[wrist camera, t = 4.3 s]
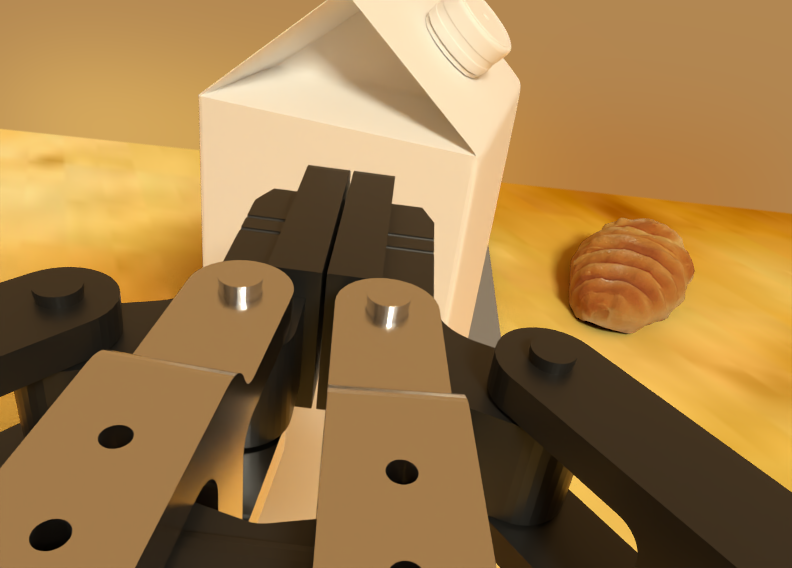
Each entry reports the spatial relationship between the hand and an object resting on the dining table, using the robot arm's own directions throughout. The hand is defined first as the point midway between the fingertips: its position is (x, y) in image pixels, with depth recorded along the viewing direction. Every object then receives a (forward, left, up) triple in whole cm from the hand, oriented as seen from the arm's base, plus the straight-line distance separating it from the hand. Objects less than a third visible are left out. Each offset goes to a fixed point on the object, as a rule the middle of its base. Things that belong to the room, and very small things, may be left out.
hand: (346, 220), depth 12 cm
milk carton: (0, +8, -15) cm, 17 cm away
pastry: (+15, +25, -16) cm, 33 cm away
